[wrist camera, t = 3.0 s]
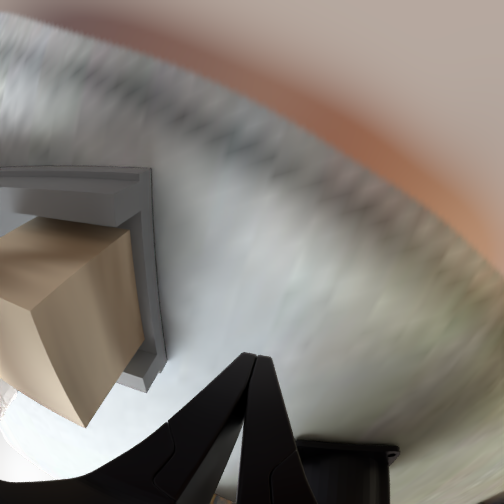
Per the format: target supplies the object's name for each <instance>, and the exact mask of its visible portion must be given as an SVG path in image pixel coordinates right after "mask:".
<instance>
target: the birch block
mask: <svg viewBox="0 0 504 504" xmlns="http://www.w3.org/2000/svg"><path fill="white" fill-rule="evenodd" d="M144 340H145V338H144V332H143V327H142V321H141V315H140V309H139V302H138V295H137V288H136V281H135V273H134V265H133V256H132V247H131V236H130V230H128V229H121V228H114V227H107V226H100V225H93V224H86V223H79V222H73V221H66V220H59V219H52V218H45V217H38V216H37V217H35V218H34V219H32V220H30V221H28V222H26V223H25V224H23V225H21V226H19V227H17V228H16V229H14V230H12V231H11V232H9V233H7V234H5V235H4V236H2V237H0V378H1V379H2V380H3V381H5V382H6V383H8V384H9V385H11V386H12V387H14V388H15V389H17V390H18V391H20V392H21V393H23V394H25V395H26V396H28V397H29V398H31V399H33V400H34V401H36V402H38V403H39V404H41V405H43V406H44V407H46V408H48V409H50V410H51V411H53V412H55V413H57V414H59V415H60V416H62V417H64V418H66V419H68V420H70V421H72V422H74V423H76V424H78V425H80V426H82V427H84V428H86V427H87V425H88V424H89V422H90V421H91V419H92V418H93V416H94V415H95V413H96V412H97V410H98V408H99V407H100V405H101V404H102V402H103V401H104V399H105V398H106V396H107V395H108V393H109V392H110V390H111V389H112V387H113V386H114V384H115V383H116V381H117V380H118V378H119V377H120V375H121V374H122V372H123V371H124V369H125V368H126V366H127V365H128V363H129V362H130V360H131V359H132V357H133V356H134V354H135V353H136V352H137V350H138V349H139V347H140V346H141V344H142V343H143V341H144Z"/></svg>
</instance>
